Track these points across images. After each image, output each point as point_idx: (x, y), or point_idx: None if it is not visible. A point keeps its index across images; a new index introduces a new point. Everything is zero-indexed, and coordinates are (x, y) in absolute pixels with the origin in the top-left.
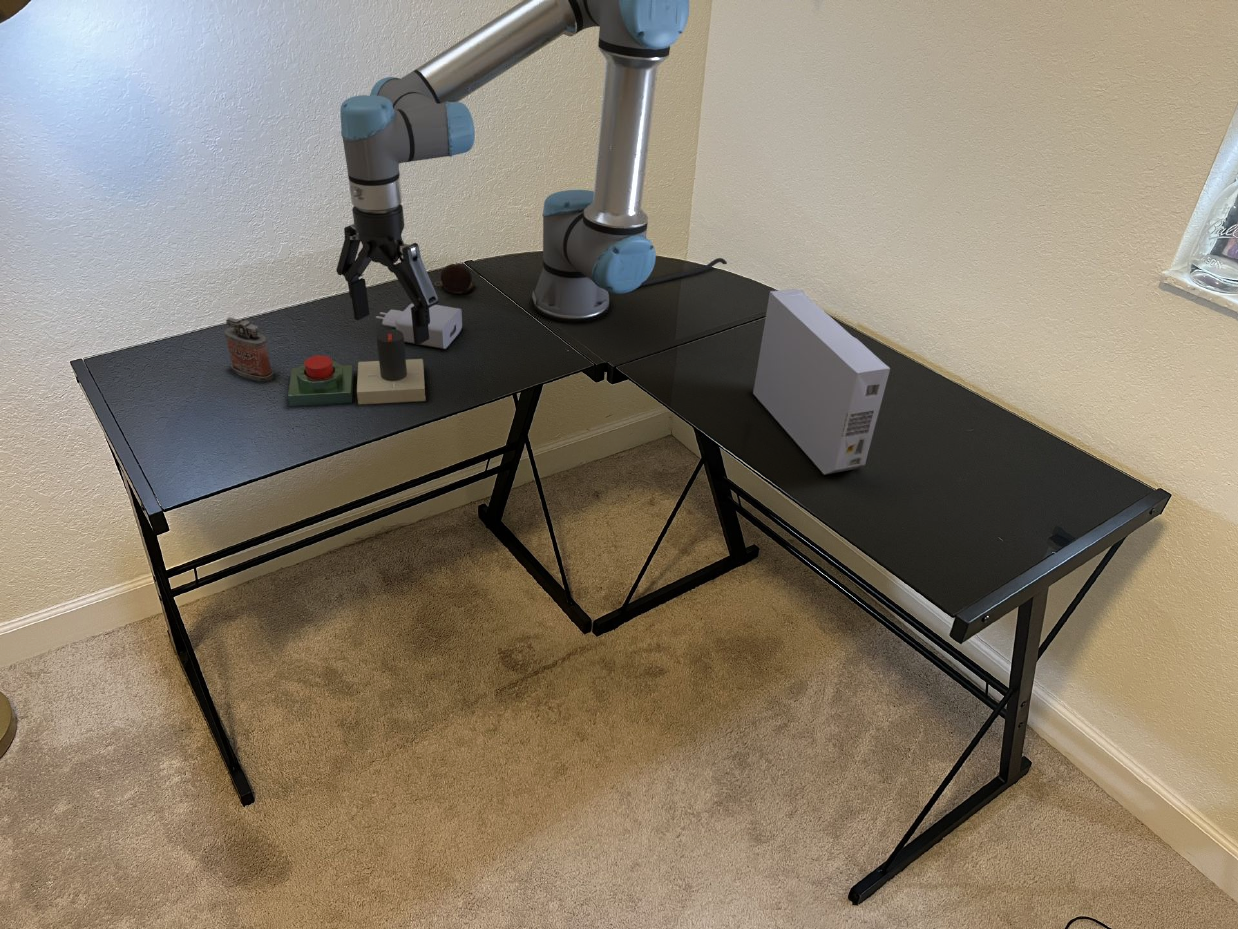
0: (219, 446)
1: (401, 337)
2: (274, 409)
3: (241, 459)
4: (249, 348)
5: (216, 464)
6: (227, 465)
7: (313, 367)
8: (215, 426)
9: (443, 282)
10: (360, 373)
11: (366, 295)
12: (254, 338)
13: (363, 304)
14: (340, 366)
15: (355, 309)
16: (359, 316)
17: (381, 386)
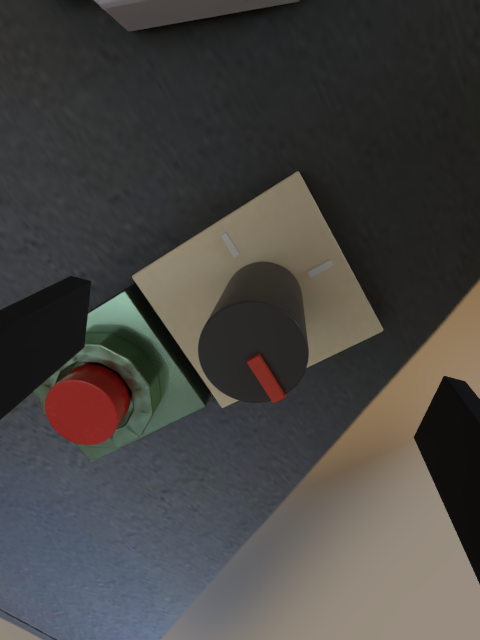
0: (91, 569)
1: (304, 351)
2: (84, 458)
3: (148, 587)
4: None
5: (124, 604)
6: (141, 602)
7: (90, 441)
8: (40, 529)
9: None
10: (175, 329)
11: (30, 321)
12: None
13: (54, 331)
14: (125, 361)
15: (51, 371)
16: (78, 340)
17: None
